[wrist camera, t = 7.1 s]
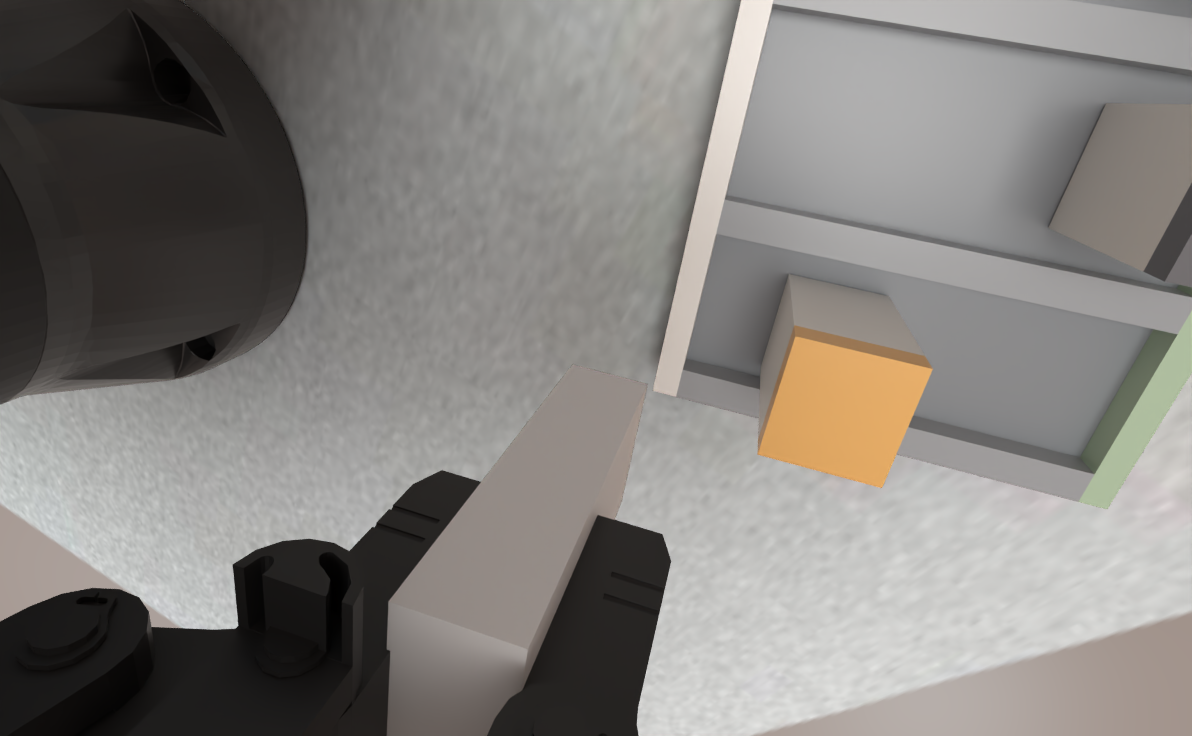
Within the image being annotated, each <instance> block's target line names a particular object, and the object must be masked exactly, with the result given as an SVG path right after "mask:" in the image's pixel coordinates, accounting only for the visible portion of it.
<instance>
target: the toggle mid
mask: <svg viewBox="0 0 1192 736" xmlns="http://www.w3.org/2000/svg"><path fill="white" fill-rule="evenodd" d="M1048 228H1050V229H1052V230H1054V231H1056V232H1058V233H1061V234H1063V235H1065V236H1067V237H1069V238H1071V239H1074V240H1076V241H1078V242H1080V243H1082V244H1084V245H1087V246H1089V247H1091V248H1093V249H1095V250H1097V251H1100V252H1102V253H1104V254H1106V255H1108V256H1110V257H1113V258H1115V259H1117V260H1119V261H1121V262H1123V263H1125V264H1128V265H1130V266H1132V267H1134V268H1136V269H1138V270H1141V271H1143V272H1145V273H1147V274H1149V275H1151V276H1154V277H1156V278H1158V279H1160V280H1162V281H1164V282H1169V283H1174V284H1178V285H1183V286H1188V287H1192V104H1129V103H1106V105H1105V107H1104V109H1103V111H1102V113H1101V116H1100V118H1099V120H1098V122H1097V124H1096V126H1095V129H1094V131H1093V133H1092V135H1091V137H1090V139H1089V141H1088V144H1087V146H1086V148H1085V150H1084V152H1083V154H1082V156H1081V159H1080V161H1079V163H1078V165H1077V167H1076V169H1075V172H1074V174H1073V176H1072V178H1071V180H1070V182H1069V184H1068V187H1067V189H1066V191H1065V193H1064V195H1063V197H1062V199H1061V202H1060V204H1059V206H1058V208H1057V210H1056V212H1055V214H1054V217H1053V219H1052V221H1051V223H1050V225H1049V227H1048Z"/></svg>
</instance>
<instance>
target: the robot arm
mask: <svg viewBox="0 0 1192 736" xmlns="http://www.w3.org/2000/svg"><path fill="white" fill-rule="evenodd" d="M305 244H306V225H305V211H304V203H303V196H302V191H301V185H300V181H299V177H298V173H297V169H296V165H295V162H294V159H293V156H292V152H291V149H290V147H289V144H288V141H287V139H286V136H285V134H284V131H283V129H282V127H281V125H280V122H279V120H278V118H277V116H276V114H275V112H274V110H273V108H272V106H271V104H270V102H269V101H268V99H267V97H266V96H265V94H264V92H263V90H262V89H261V87H260V86H259V84H258V82H257V81H256V79H255V78H254V76H253V75H252V73H251V72H250V71H249V69H248V68H247V67H246V65H245V64H244V63H243V61H242V60H241V59H240V57H239V56H238V55H237V54H236V53H235V51H234V50H233V49H232V48H231V47H230V45H229V44H228V43H227V42H226V41H225V40H224V39H223V38H222V37H221V36H220V35H219V34H218V33H217V32H216V31H215V30H214V29H213V28H212V27H211V26H210V25H209V24H208V23H207V22H206V21H205V20H203V19H202V18H201V17H200V16H199V15H197V14H196V13H195V12H194V11H193V10H191V9H190V8H188V7H187V6H186V5H184V4H183V3H182V2H180V1H179V0H0V405H1V404H3V403H6V402H8V401H11V400H14V399H16V398H19V397H22V396H26V395H35V394H44V393H54V392H63V391H73V390H82V389H92V388H101V387H111V386H120V385H130V384H139V383H149V382H158V381H168V380H175V379H181V378H185V377H188V376H192V375H196V374H199V373H202V372H205V371H207V370H210V369H212V368H214V367H216V366H218V365H220V364H222V363H224V362H227V361H229V360H231V359H233V358H235V357H237V356H239V355H241V354H243V353H245V352H247V351H249V350H251V349H252V348H254V347H255V346H257V345H258V344H260V343H261V342H262V341H263V340H265V339H266V338H267V337H268V336H269V335H270V334H271V333H272V332H273V331H274V330H275V329H276V327H277V326H278V325H279V324H280V322H281V321H282V319H283V318H284V316H285V315H286V313H287V311H288V309H289V308H290V306H291V304H292V301H293V299H294V297H295V294H296V292H297V288H298V285H299V282H300V278H301V274H302V269H303V263H304V256H305ZM647 385H648V384H646V383H642V382H638V381H634V380H630V379H627V378H623V377H619V376H615V375H611V374H608V373H604V372H600V371H596V370H592V369H589V368H585V367H581V366H577V365H573V364H572V366H571V367H570V368H569V369H568V371H567V372H566V373H565V375H564V376H563V377H562V378H561V380H560V381H559V382H558V384H557V385H556V386H555V387H554V389H553V390H552V391H551V393H550V394H549V395H548V397H547V398H546V399H545V400H544V402H543V403H542V404H541V406H540V407H539V408H538V409H537V411H536V412H535V413H534V415H533V416H532V417H531V418H530V420H529V421H528V422H527V424H526V425H525V426H524V427H523V429H522V430H521V431H520V433H519V434H518V435H517V437H516V438H515V439H514V440H513V442H512V443H511V444H510V446H509V447H508V448H507V449H506V451H505V452H504V453H503V455H502V456H501V457H500V458H499V460H498V461H497V462H496V464H495V465H494V466H493V467H492V469H491V470H490V471H489V473H488V474H487V475H486V477H485V478H484V479H483V480H482V482H479V481H476V480H473V479H469V478H466V477H463V476H459V475H456V474H453V473H449V472H446V471H443V470H442V471H439V472H437V473H435V474H433V475H431V476H429V477H427V478H425V479H423V480H421V481H419V482H417V483H415V484H413V485H412V486H411V487H410V488H409V489H408V490H407V491H406V492H405V493H404V494H403V495H402V496H401V497H400V499H399V500H398V501H397V502H396V503H395V504H394V505H393V508H392V510H390V509H389V510H388V511H387V512H386V513H385V514H384V515H383V516H382V517H381V519H380V520H379V521H378V522H377V524H376V526H375V528H374V527H372V528H371V529H370V530H369V531H368V532H367V533H366V534H365V535H364V536H363V537H362V539H361V540H360V541H359V542H358V543H357V544H356V545H355V546H354V547H353V548H352V549H351V550H350V551H348V550H346V549H344V548H342V547H340V546H339V545H337V544H335V543H331V542H325V541H319V540H313V539H303V540H291V541H282V542H279V543H276V544H273V545H270V546H267V547H264V548H261V549H258V550H255V551H254V552H252V553H250V554H249V555H247V556H246V557H244V558H242V559H241V560H239V561H238V562H236V563H235V564H233V571H234V582H235V593H236V604H237V614H238V625H239V626H238V627H237V628H236V629H221V630H207V629H183V628H159V627H151V622H150V616H149V611H148V610H147V609H146V607H145V606H144V604H143V603H142V601H141V600H140V598H139V597H137V596H134V595H132V594H129V593H127V592H125V591H122V590H120V589H101V588H91V589H85V590H80V591H74V592H70V593H64V594H60V595H58V596H55V597H53V598H51V599H48V600H45V601H42V602H40V603H37V604H35V605H32V606H30V607H28V608H26V609H24V610H22V611H20V612H18V613H16V614H14V615H12V616H10V617H8V618H6V619H4V620H3V621H1V622H0V736H638V730H637V713H638V705H639V701H640V696H641V692H642V687H643V683H644V678H645V674H646V670H647V665H648V661H649V656H650V652H651V647H652V643H653V639H654V634H655V630H656V625H657V621H658V616H659V612H660V608H661V603H662V599H663V594H664V590H665V586H666V581H667V577H668V572H669V568H670V563H671V560H670V556H669V553H668V550H667V547H666V544H665V541H664V538H663V535H662V534H660V533H656V532H653V531H650V530H646V529H643V528H640V527H636V526H633V525H630V524H627V523H623V522H620V521H617V520H615V517H616V515H617V512H618V510H619V507H620V504H621V502H622V498H623V493H624V489H625V484H626V480H627V475H628V471H629V466H630V462H631V457H632V453H633V448H634V444H635V439H636V435H637V430H638V426H639V421H640V417H641V412H642V408H643V403H644V399H645V394H646V390H647Z"/></svg>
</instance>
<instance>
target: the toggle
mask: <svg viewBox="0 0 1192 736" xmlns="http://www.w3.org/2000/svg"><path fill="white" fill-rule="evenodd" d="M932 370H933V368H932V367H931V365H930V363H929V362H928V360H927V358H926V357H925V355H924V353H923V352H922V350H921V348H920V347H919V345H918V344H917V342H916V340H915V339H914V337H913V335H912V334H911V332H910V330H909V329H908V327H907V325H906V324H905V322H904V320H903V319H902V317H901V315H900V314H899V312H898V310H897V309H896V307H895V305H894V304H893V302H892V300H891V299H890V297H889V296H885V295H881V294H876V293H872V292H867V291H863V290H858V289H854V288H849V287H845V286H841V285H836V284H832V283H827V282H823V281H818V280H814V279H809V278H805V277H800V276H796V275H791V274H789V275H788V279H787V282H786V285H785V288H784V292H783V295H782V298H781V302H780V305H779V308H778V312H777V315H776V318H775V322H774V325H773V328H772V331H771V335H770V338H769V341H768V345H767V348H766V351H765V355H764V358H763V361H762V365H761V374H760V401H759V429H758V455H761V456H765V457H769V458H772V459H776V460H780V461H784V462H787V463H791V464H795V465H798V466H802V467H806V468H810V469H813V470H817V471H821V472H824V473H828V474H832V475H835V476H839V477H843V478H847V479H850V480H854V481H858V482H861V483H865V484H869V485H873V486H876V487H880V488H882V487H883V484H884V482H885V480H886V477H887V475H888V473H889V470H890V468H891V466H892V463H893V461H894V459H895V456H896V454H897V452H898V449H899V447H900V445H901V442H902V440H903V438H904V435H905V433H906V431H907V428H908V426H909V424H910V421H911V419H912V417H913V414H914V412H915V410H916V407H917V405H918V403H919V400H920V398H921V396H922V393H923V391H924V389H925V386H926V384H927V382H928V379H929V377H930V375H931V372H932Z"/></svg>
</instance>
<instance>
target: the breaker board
mask: <svg viewBox="0 0 1192 736" xmlns="http://www.w3.org/2000/svg"><path fill="white" fill-rule="evenodd" d="M1106 103H1129V104H1192V0H741V4H740V8H739V13H738V17H737V21H736V26H735V30H734V35H733V39H732V43H731V48H730V52H729V57H728V61H727V65H726V70H725V74H724V79H723V83H722V87H721V92H720V96H719V101H718V105H717V109H716V114H715V118H714V123H713V127H712V131H711V136H710V140H709V145H708V149H707V153H706V158H705V162H704V167H703V171H702V175H701V180H700V184H699V189H698V193H697V197H696V202H695V206H694V211H693V215H692V219H691V224H690V228H689V233H688V237H687V241H686V246H685V250H684V255H683V259H682V263H681V268H680V272H679V277H678V281H677V285H676V290H675V294H674V299H673V303H672V307H671V312H670V316H669V321H668V325H667V329H666V334H665V338H664V343H663V347H662V351H661V356H660V360H659V365H658V369H657V373H656V378H655V382H654V387H653V391H656V392H659V393H663V394H667V395H671V396H675V397H679V398H682V399H686V400H690V401H694V402H698V403H702V404H705V405H709V406H713V407H717V408H721V409H725V410H728V411H732V412H736V413H740V414H744V415H748V416H751V417H755V418H759V401H760V374H761V365H762V361H763V358H764V355H765V351H766V348H767V345H768V341H769V338H770V335H771V331H772V328H773V325H774V322H775V318H776V315H777V312H778V308H779V305H780V302H781V298H782V295H783V292H784V288H785V285H786V282H787V279H788V275H789V274H791V275H796V276H800V277H805V278H809V279H814V280H818V281H823V282H827V283H832V284H836V285H841V286H845V287H849V288H854V289H858V290H863V291H867V292H872V293H876V294H881V295H885V296H889V297H890V299H891V300H892V302H893V304H894V305H895V307H896V309H897V310H898V312H899V314H900V315H901V317H902V319H903V320H904V322H905V324H906V325H907V327H908V329H909V330H910V332H911V334H912V335H913V337H914V339H915V340H916V342H917V344H918V345H919V347H920V348H921V350H922V352H923V353H924V355H925V357H926V358H927V360H928V362H929V363H930V365H931V367H932V368H933V370H932V372H931V375H930V377H929V379H928V382H927V384H926V386H925V389H924V391H923V393H922V396H921V398H920V400H919V403H918V405H917V407H916V410H915V412H914V414H913V417H912V419H911V421H910V424H909V426H908V428H907V431H906V433H905V435H904V438H903V440H902V442H901V445H900V447H899V449H898V452H897V455H901V456H905V457H908V458H912V459H916V460H920V461H924V462H928V463H931V464H935V465H939V466H943V467H947V468H951V469H954V470H958V471H962V472H966V473H970V474H974V475H977V476H981V477H985V478H989V479H993V480H997V481H1000V482H1004V483H1008V484H1012V485H1016V486H1020V487H1023V488H1027V489H1031V490H1035V491H1039V492H1043V493H1046V494H1050V495H1054V496H1058V497H1062V498H1066V499H1069V500H1073V501H1077V502H1081V503H1085V504H1089V505H1092V506H1096V507H1100V508H1104V509H1108V507H1109V506H1110V504H1111V502H1112V501H1113V499H1114V498H1115V496H1116V494H1117V493H1118V491H1119V489H1120V488H1121V486H1122V485H1123V483H1124V481H1125V480H1126V478H1127V477H1128V475H1129V473H1130V472H1131V470H1132V468H1133V467H1134V465H1135V464H1136V462H1137V460H1138V459H1139V457H1140V456H1141V454H1142V452H1143V451H1144V449H1145V448H1146V446H1147V444H1148V443H1149V441H1150V439H1151V438H1152V436H1153V435H1154V433H1155V431H1156V430H1157V428H1158V427H1159V425H1160V423H1161V422H1162V420H1163V418H1164V417H1165V415H1166V414H1167V412H1168V410H1169V409H1170V407H1171V406H1172V404H1173V402H1174V401H1175V399H1176V398H1177V396H1178V394H1179V393H1180V391H1181V389H1182V388H1183V386H1184V385H1185V383H1186V381H1187V380H1188V378H1189V377H1190V375H1191V373H1192V287H1188V286H1183V285H1178V284H1174V283H1169V282H1164V281H1162V280H1160V279H1158V278H1156V277H1154V276H1151V275H1149V274H1147V273H1145V272H1143V271H1141V270H1138V269H1136V268H1134V267H1132V266H1130V265H1128V264H1125V263H1123V262H1121V261H1119V260H1117V259H1115V258H1113V257H1110V256H1108V255H1106V254H1104V253H1102V252H1100V251H1097V250H1095V249H1093V248H1091V247H1089V246H1087V245H1084V244H1082V243H1080V242H1078V241H1076V240H1074V239H1071V238H1069V237H1067V236H1065V235H1063V234H1061V233H1058V232H1056V231H1054V230H1052V229H1050V228H1048V227H1049V225H1050V223H1051V221H1052V219H1053V217H1054V214H1055V212H1056V210H1057V208H1058V206H1059V204H1060V202H1061V199H1062V197H1063V195H1064V193H1065V191H1066V189H1067V187H1068V184H1069V182H1070V180H1071V178H1072V176H1073V174H1074V172H1075V169H1076V167H1077V165H1078V163H1079V161H1080V159H1081V156H1082V154H1083V152H1084V150H1085V148H1086V146H1087V144H1088V141H1089V139H1090V137H1091V135H1092V133H1093V131H1094V129H1095V126H1096V124H1097V122H1098V120H1099V118H1100V116H1101V113H1102V111H1103V109H1104V107H1105V105H1106Z"/></svg>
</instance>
